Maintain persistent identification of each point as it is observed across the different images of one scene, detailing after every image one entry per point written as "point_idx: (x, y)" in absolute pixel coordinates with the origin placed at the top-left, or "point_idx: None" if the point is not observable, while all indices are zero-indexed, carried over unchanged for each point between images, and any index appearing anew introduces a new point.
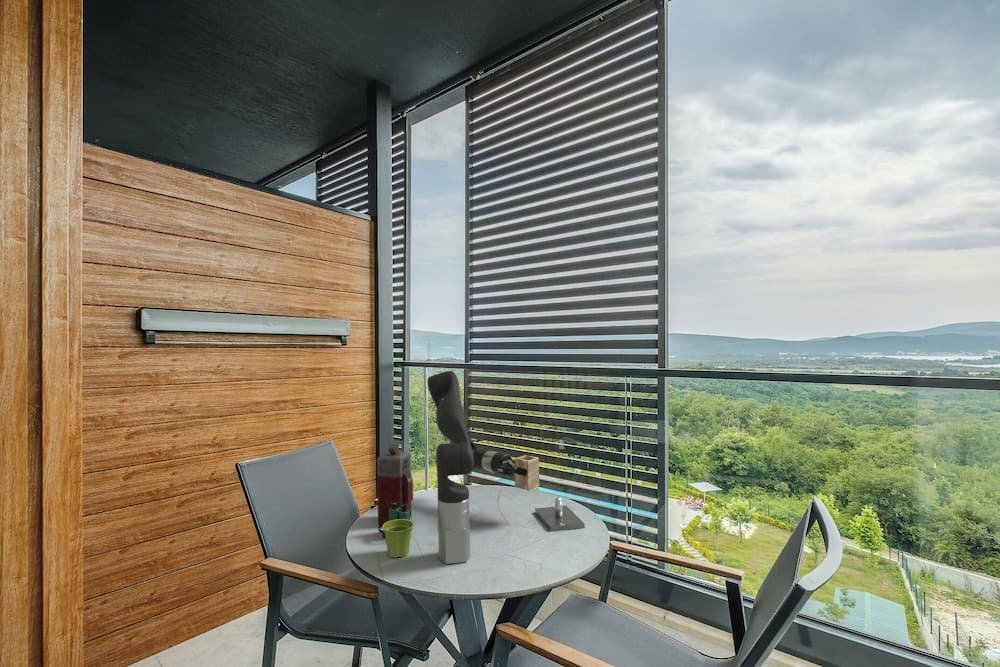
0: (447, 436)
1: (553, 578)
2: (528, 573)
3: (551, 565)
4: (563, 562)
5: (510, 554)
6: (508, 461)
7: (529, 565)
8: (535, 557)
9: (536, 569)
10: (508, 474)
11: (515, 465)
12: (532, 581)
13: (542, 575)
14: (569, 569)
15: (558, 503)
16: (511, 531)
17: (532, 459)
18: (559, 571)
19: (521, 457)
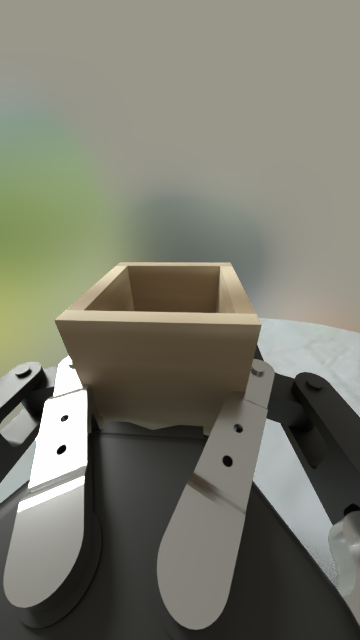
0: None
1: (311, 324)
2: (340, 344)
3: (294, 337)
4: (273, 332)
5: (347, 393)
6: (219, 569)
7: (327, 353)
8: (303, 359)
9: (322, 343)
10: (320, 435)
11: (245, 376)
12: (343, 334)
13: (322, 333)
14: (278, 323)
15: None
16: (282, 477)
17: (177, 264)
18: (293, 327)
19: (158, 316)
